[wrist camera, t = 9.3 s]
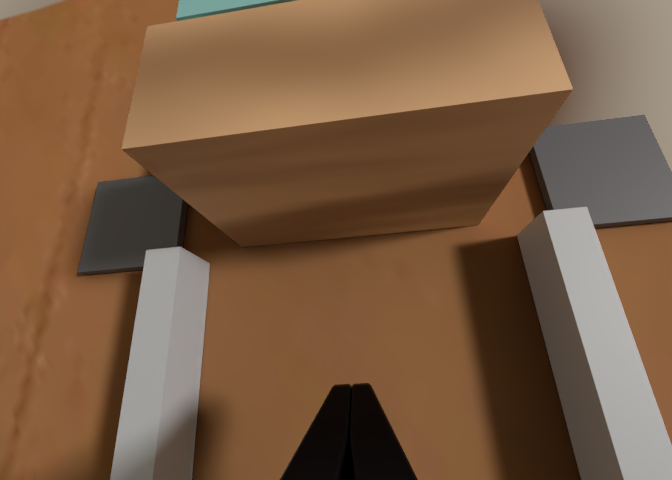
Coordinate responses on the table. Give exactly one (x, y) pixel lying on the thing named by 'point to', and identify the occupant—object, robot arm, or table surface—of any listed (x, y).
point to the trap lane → (541, 266)
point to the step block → (344, 113)
